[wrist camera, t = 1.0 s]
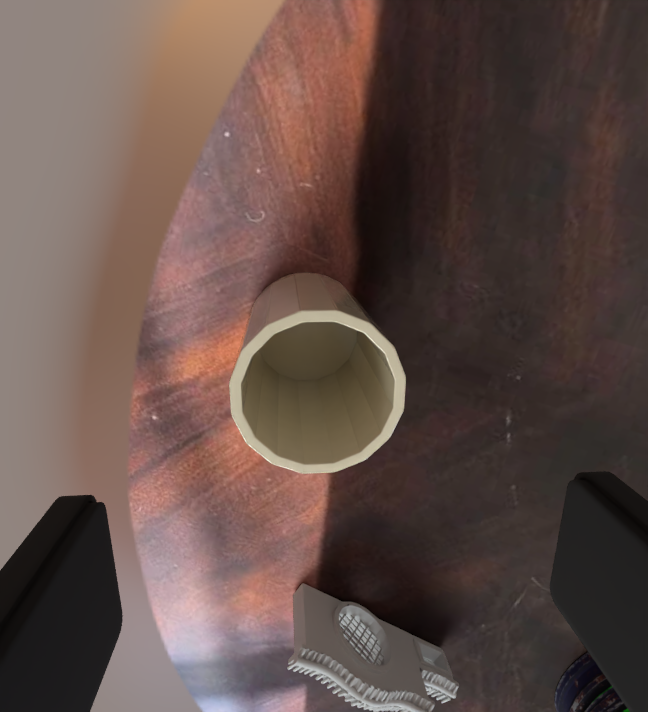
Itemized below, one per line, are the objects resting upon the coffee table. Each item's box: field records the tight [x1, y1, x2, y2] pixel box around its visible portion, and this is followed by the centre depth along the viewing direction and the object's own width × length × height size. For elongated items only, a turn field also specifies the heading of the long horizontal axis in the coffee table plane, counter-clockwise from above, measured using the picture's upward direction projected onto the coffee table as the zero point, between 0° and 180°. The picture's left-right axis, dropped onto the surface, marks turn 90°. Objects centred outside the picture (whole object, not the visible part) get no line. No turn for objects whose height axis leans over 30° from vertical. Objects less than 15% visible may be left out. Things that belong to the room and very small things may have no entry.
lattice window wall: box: [287, 583, 459, 712], centre depth 28 cm, size 12×2×6 cm, turn 56°
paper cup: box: [229, 272, 406, 474], centre depth 20 cm, size 6×6×9 cm
